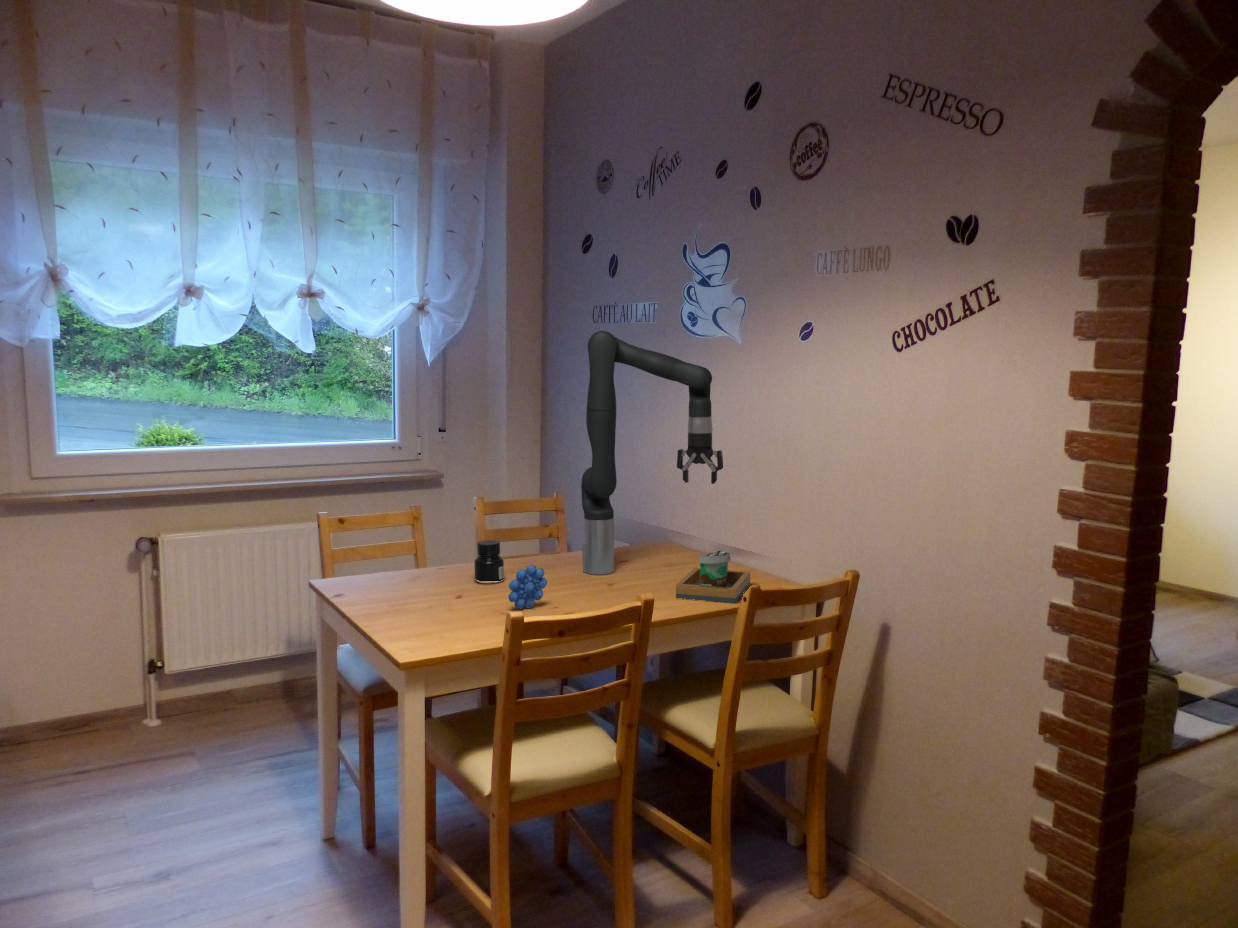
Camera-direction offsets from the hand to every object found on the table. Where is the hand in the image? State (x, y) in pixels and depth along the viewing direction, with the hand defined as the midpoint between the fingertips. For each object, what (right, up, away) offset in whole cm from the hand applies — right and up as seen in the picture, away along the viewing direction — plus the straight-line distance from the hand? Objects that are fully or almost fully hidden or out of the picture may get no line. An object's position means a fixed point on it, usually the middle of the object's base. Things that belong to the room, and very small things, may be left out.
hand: (699, 482), depth 285 cm
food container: (+3, -30, -22) cm, 37 cm away
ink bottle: (-65, -30, -7) cm, 72 cm away
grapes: (-50, -33, -36) cm, 70 cm away
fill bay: (+2, -31, -21) cm, 38 cm away
